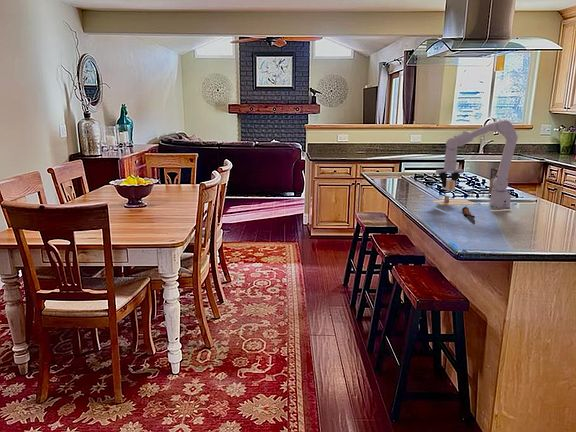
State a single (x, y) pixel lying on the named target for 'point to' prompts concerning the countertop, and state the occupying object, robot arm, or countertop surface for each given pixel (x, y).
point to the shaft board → (453, 202)
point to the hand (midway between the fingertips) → (448, 187)
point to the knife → (468, 215)
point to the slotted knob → (449, 185)
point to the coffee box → (493, 175)
